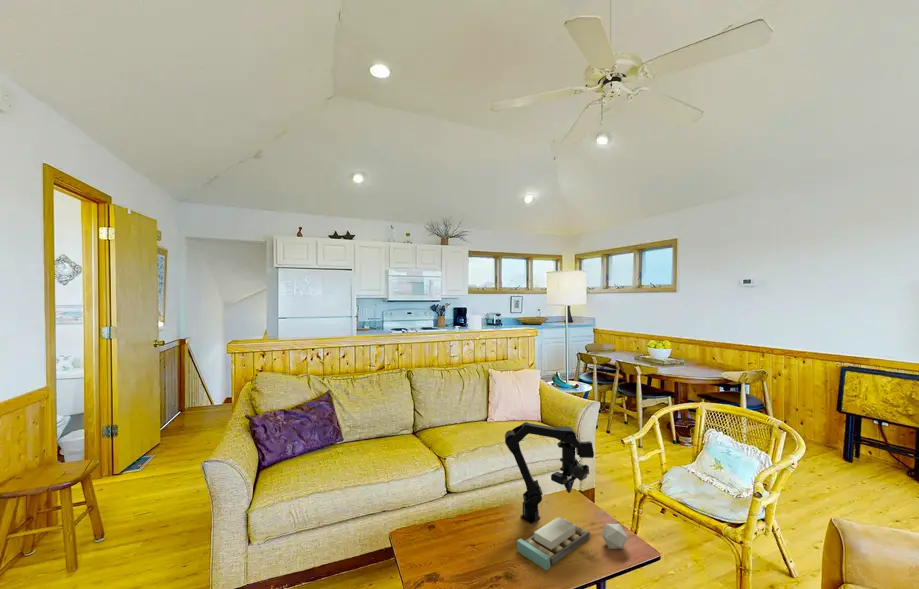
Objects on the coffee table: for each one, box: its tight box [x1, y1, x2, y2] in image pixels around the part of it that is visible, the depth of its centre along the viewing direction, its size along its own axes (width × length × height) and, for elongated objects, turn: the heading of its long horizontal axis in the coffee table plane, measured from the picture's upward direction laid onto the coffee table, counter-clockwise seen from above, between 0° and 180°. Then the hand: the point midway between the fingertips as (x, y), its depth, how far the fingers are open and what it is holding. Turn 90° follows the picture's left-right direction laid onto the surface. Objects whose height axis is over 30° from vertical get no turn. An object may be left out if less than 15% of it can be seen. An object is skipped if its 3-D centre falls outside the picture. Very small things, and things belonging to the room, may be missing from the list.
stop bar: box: [516, 538, 551, 572], centre depth 143 cm, size 14×2×4 cm, turn 40°
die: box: [600, 523, 629, 550], centre depth 151 cm, size 8×9×10 cm
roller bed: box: [524, 517, 591, 566], centre depth 153 cm, size 13×25×3 cm, turn 130°
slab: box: [533, 516, 576, 551], centre depth 152 cm, size 8×16×3 cm, turn 130°
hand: (569, 492), depth 169 cm, fingers closed
